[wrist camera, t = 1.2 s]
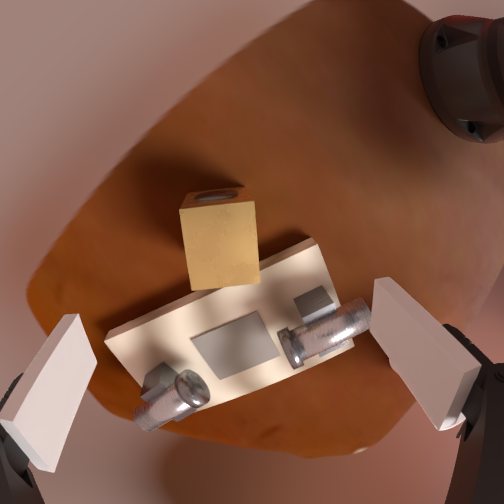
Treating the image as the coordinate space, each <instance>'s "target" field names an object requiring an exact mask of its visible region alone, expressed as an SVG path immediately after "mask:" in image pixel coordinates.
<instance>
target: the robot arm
mask: <svg viewBox="0 0 504 504" xmlns="http://www.w3.org/2000/svg"><path fill="white" fill-rule="evenodd" d="M419 63H420V71H421V76H422V81H423V84H424V87H425V90H426V93H427V95H428V98H429V100H430V102H431V104H432V106H433V108H434V110H435V111H436V113H437V115H438V116H439V117H440V119H441V120H442V121H443V123H444V124H445V125H446V126H447V127H448V128H449V129H450V130H451V131H452V132H453V133H454V134H456V135H457V136H459V137H460V138H462V139H464V140H467V141H470V142H477V143H495V142H498V141H501V140H504V17H503V18H499V19H489V18H482V17H474V16H464V15H452V16H448V17H445V18H442V19H440V20H437V21H435V22H433V23H432V24H431V25H430V26H429V27H428V28H427V29H426V31H425V32H424V35H423V37H422V40H421V44H420V51H419ZM370 333H371V334H372V335H373V337H374V338H375V339H376V341H377V342H378V344H379V345H380V346H381V348H382V349H383V351H384V352H385V353H386V355H387V356H388V358H389V359H390V360H391V362H392V363H393V365H394V366H395V367H396V369H397V370H398V372H399V373H400V375H401V376H402V377H403V379H404V380H405V382H406V383H407V385H408V386H409V388H410V389H411V390H412V392H413V393H414V395H415V396H416V398H417V399H418V401H419V402H420V404H421V405H422V407H423V408H424V410H425V411H426V413H427V414H428V416H429V417H430V419H431V420H432V422H433V423H434V425H435V426H436V428H437V429H438V431H440V430H442V429H445V428H447V427H449V426H451V425H453V424H455V423H456V422H457V420H458V418H459V416H460V414H461V412H462V414H463V415H464V416H465V418H466V419H465V421H464V423H463V425H462V427H461V429H460V431H459V432H458V434H457V436H456V438H459V437H460V435H461V439H460V445H459V450H458V454H457V459H456V463H455V467H454V472H453V476H452V479H451V484H450V487H449V490H448V494H447V497H446V501H445V504H504V363H497V364H493V363H492V362H491V361H490V360H489V359H488V358H487V357H486V356H485V355H484V354H483V353H482V352H481V351H480V350H479V349H478V348H477V347H476V346H475V345H474V344H472V342H471V341H470V340H469V339H468V338H466V336H465V335H464V334H463V333H461V332H460V331H459V330H458V329H457V328H455V327H453V326H451V325H449V324H443V325H441V324H440V323H439V322H438V321H437V320H436V319H435V318H434V317H433V316H432V315H431V314H430V313H429V312H427V311H426V310H425V309H424V308H423V307H422V306H421V305H420V304H419V303H418V302H417V301H416V300H415V299H413V298H412V297H411V296H410V295H409V294H408V293H407V292H406V291H405V290H404V289H403V288H401V287H400V286H399V285H398V284H397V283H396V282H395V281H394V280H392V279H391V278H390V277H385V278H379V279H375V280H374V292H373V303H372V313H371V322H370ZM96 364H97V361H96V358H95V356H94V353H93V351H92V349H91V346H90V344H89V341H88V338H87V336H86V333H85V331H84V328H83V325H82V323H81V320H80V317H79V314H66V315H64V316H63V318H62V319H61V320H60V322H59V323H58V324H57V326H56V327H55V329H54V330H53V331H52V333H51V334H50V336H49V337H48V338H47V340H46V341H45V343H44V344H43V346H42V347H41V348H40V350H39V352H38V353H37V354H36V356H35V357H34V359H33V360H32V362H31V363H30V365H29V366H28V368H27V369H26V371H25V373H22V374H20V375H19V376H18V377H17V378H16V379H15V380H14V381H13V382H12V384H11V386H10V387H9V391H7V392H6V394H5V395H4V398H2V400H1V402H0V504H45V502H44V500H43V498H42V496H41V494H40V491H39V489H38V487H37V484H36V482H35V479H34V477H33V474H32V472H31V470H30V469H29V468H28V466H27V465H28V462H29V460H30V461H31V462H32V463H33V464H34V465H35V466H36V467H37V468H38V469H40V470H44V471H49V472H53V473H54V472H55V469H56V465H57V463H58V460H59V457H60V454H61V451H62V449H63V446H64V443H65V440H66V438H67V435H68V432H69V430H70V427H71V424H72V422H73V419H74V416H75V414H76V412H77V409H78V407H79V404H80V402H81V399H82V397H83V395H84V392H85V390H86V387H87V385H88V383H89V380H90V378H91V376H92V373H93V371H94V369H95V367H96ZM461 433H462V434H461Z"/></svg>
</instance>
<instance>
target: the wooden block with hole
mask: <svg viewBox="0 0 504 504" xmlns="http://www.w3.org/2000/svg"><path fill="white" fill-rule="evenodd" d="M179 212H180V219H181V226H182V233H183V240H184V246H185V253H186V259H187V265H188V271H189V277H190V283H191V289H192V291H195V290H205V289H214V288H223V287H232V286H240V285H249V284H257V283H260V270H259V257H258V244H257V231H256V218H255V206H254V200H253V198H252V197H251V195H250V194H249V192H248V190H247V189H246V187H245V186H244V187H234V188H224V189H215V190H206V191H198V192H190V193H188V194H187V195H186V197H185V199H184V201H183V203H182V205H181V207H180V209H179Z"/></svg>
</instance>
